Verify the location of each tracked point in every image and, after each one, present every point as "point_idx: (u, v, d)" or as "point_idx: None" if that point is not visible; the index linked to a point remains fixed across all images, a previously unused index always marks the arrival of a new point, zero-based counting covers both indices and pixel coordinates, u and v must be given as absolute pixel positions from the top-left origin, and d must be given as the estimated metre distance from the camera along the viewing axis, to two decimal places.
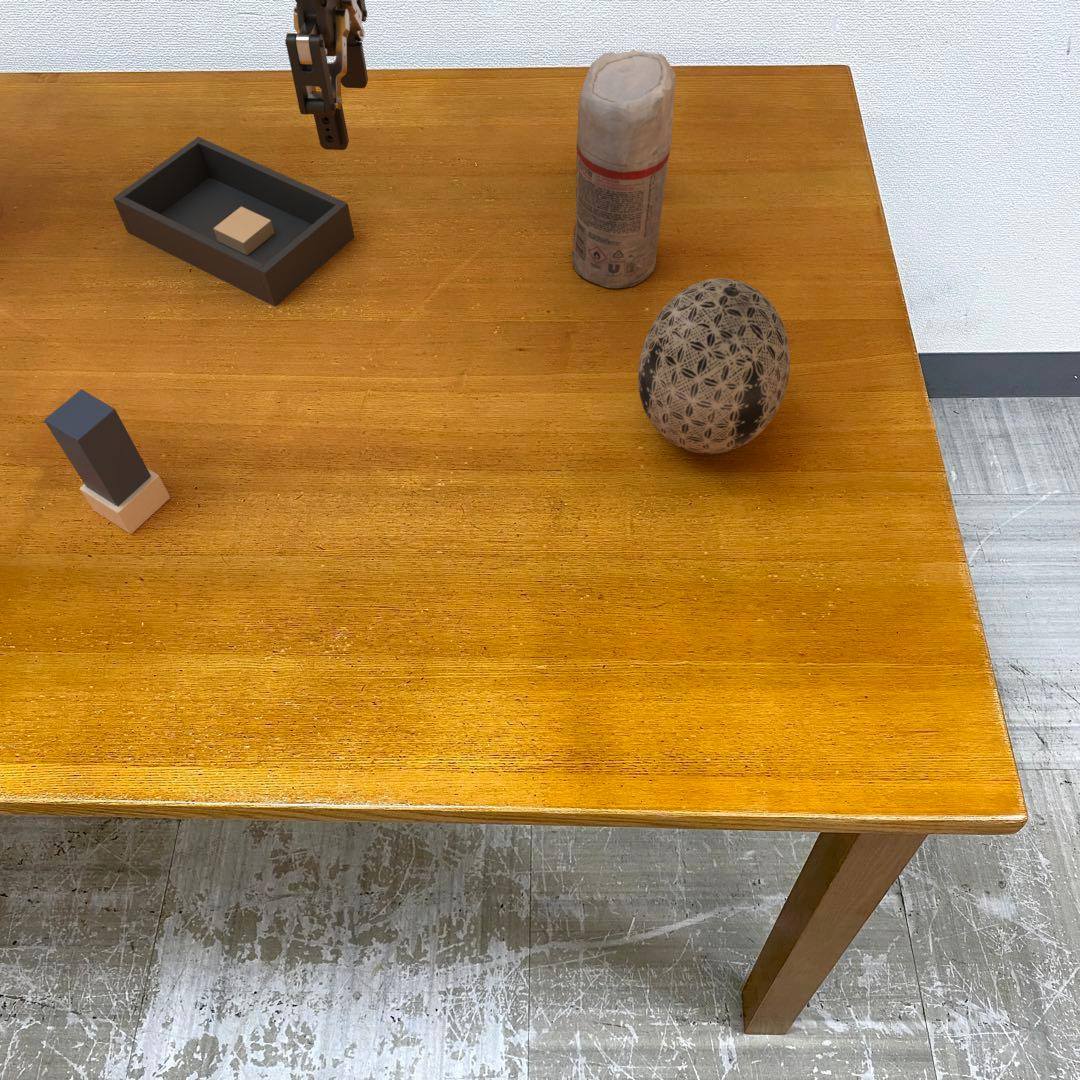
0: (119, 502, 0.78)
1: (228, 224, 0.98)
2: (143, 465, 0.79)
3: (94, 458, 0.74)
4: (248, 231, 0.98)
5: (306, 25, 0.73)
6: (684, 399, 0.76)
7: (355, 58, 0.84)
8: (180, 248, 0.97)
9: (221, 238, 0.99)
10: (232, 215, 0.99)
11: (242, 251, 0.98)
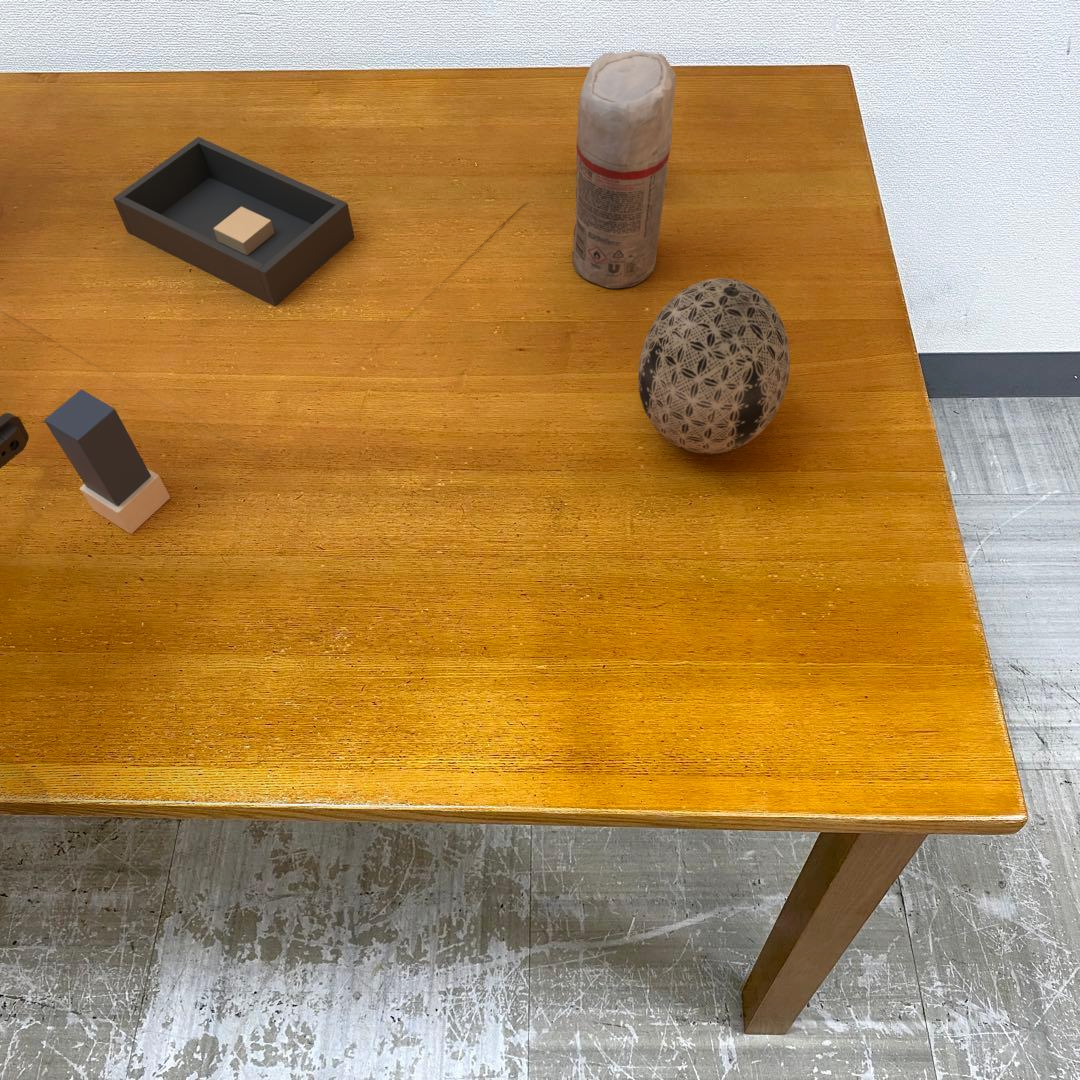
0: (119, 502, 0.78)
1: (228, 224, 0.98)
2: (143, 465, 0.79)
3: (94, 458, 0.74)
4: (248, 231, 0.98)
5: None
6: (684, 399, 0.76)
7: None
8: (180, 248, 0.97)
9: (221, 238, 0.99)
10: (232, 215, 0.99)
11: (242, 251, 0.98)
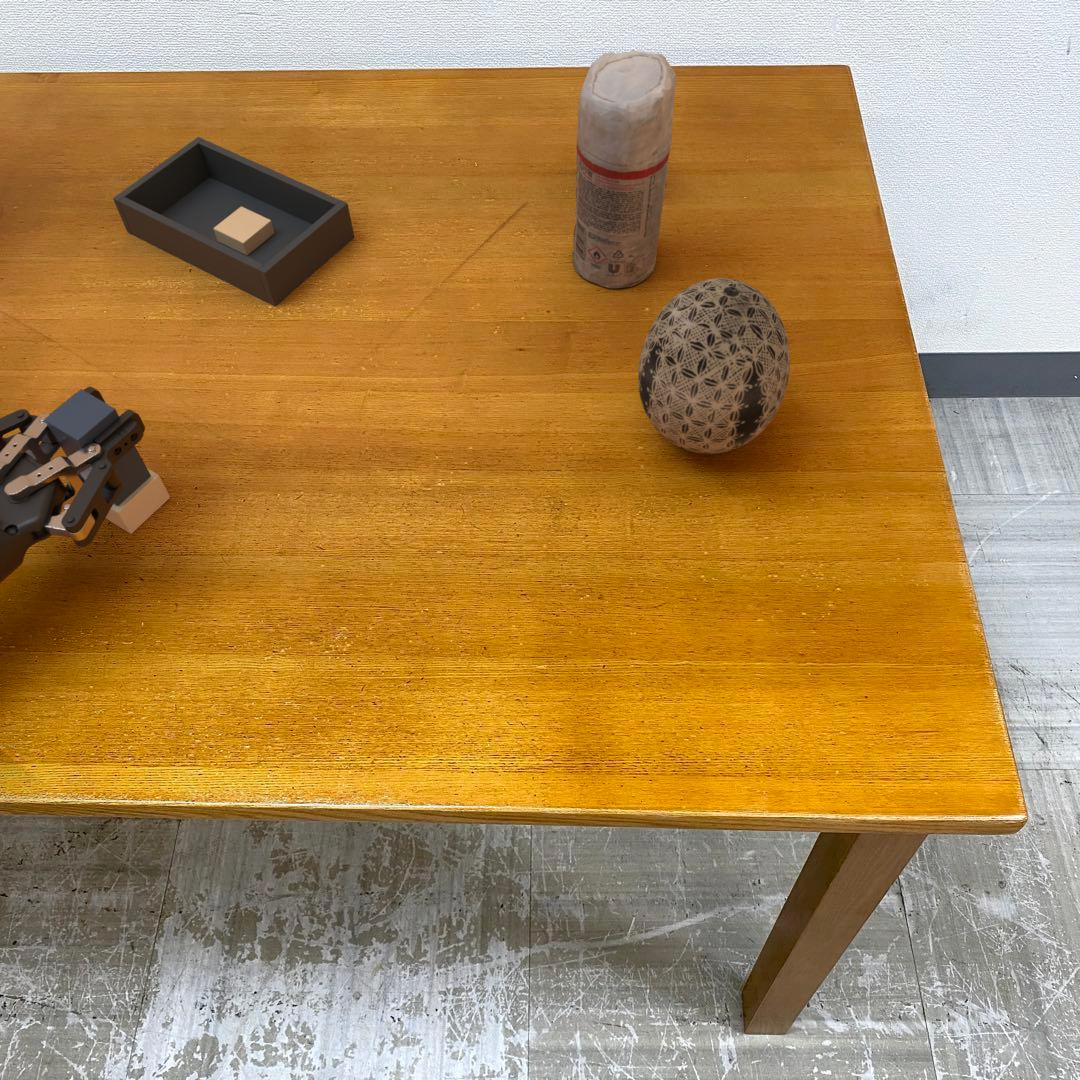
0: (119, 501, 0.78)
1: (228, 224, 0.98)
2: (143, 465, 0.79)
3: None
4: (248, 231, 0.98)
5: None
6: (684, 399, 0.76)
7: None
8: (180, 248, 0.97)
9: (221, 238, 0.99)
10: (232, 215, 0.99)
11: (242, 251, 0.98)
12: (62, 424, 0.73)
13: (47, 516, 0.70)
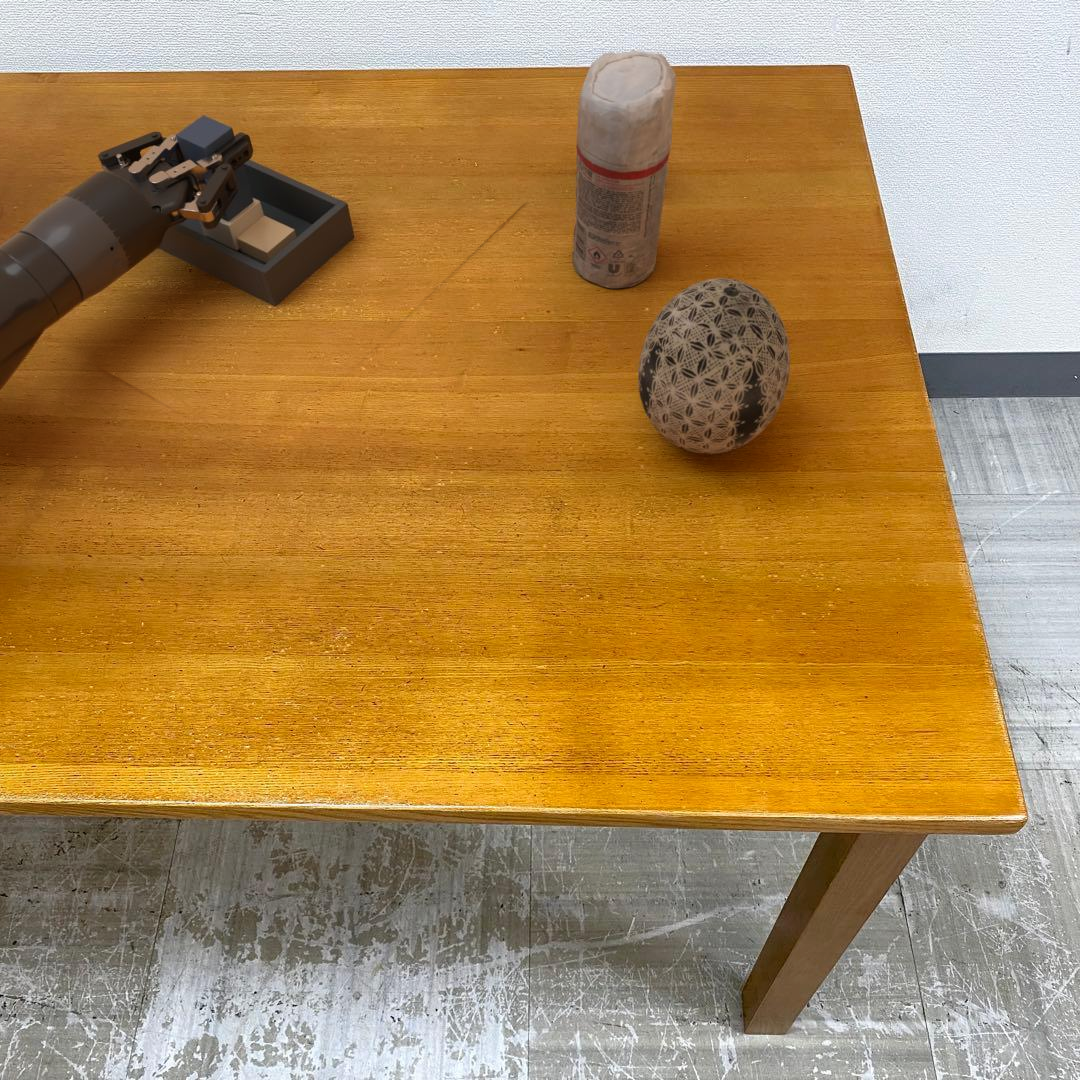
0: (229, 217, 0.96)
1: (251, 233, 0.98)
2: (249, 189, 0.96)
3: None
4: (271, 240, 0.97)
5: None
6: (684, 399, 0.76)
7: None
8: (180, 248, 0.97)
9: (244, 247, 0.98)
10: (255, 224, 0.98)
11: (265, 261, 0.97)
12: (190, 137, 0.90)
13: (183, 201, 0.87)
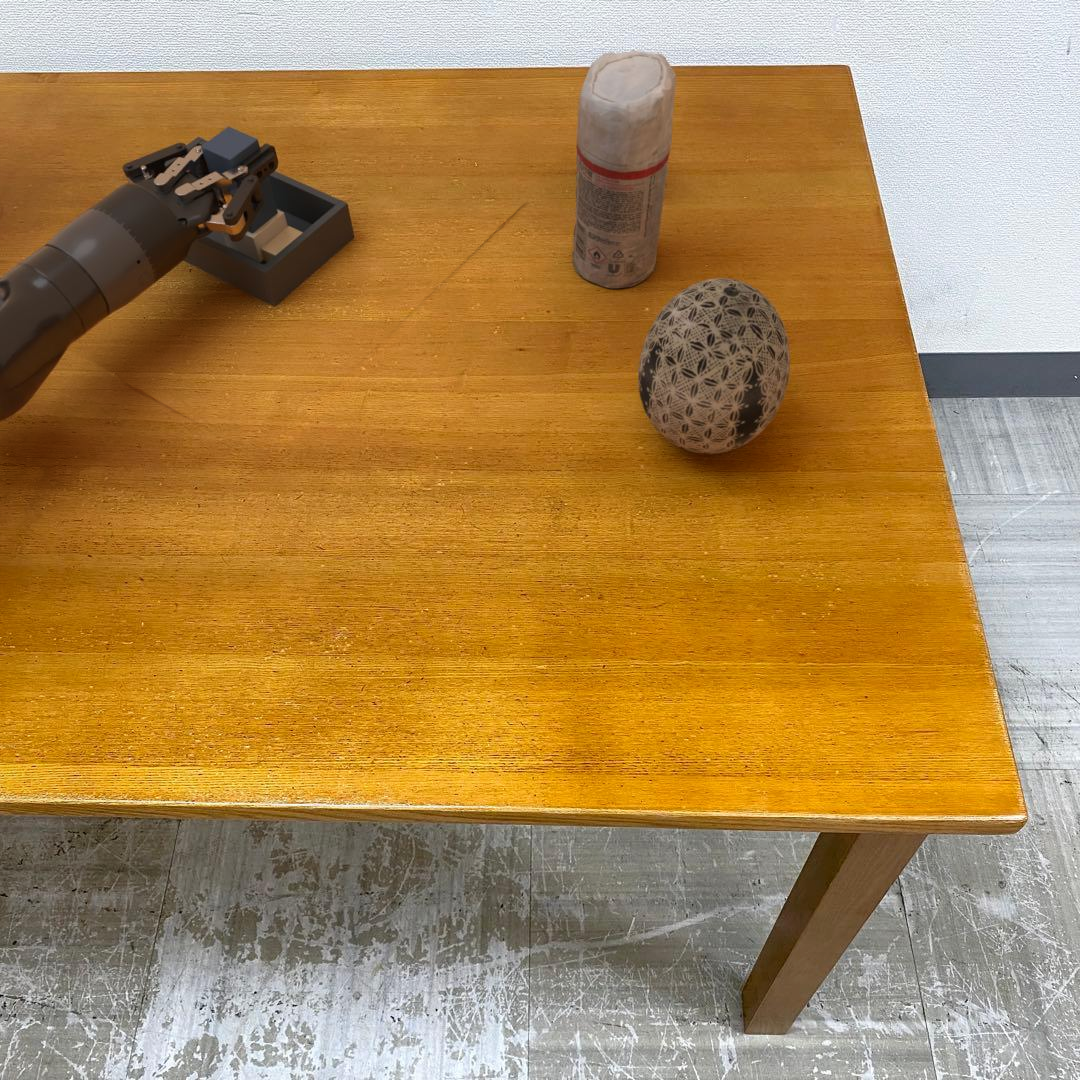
0: (253, 229, 0.95)
1: (276, 244, 0.97)
2: (273, 200, 0.96)
3: None
4: None
5: None
6: (684, 399, 0.76)
7: None
8: None
9: (268, 258, 0.97)
10: (280, 235, 0.97)
11: None
12: (216, 149, 0.89)
13: (209, 214, 0.87)
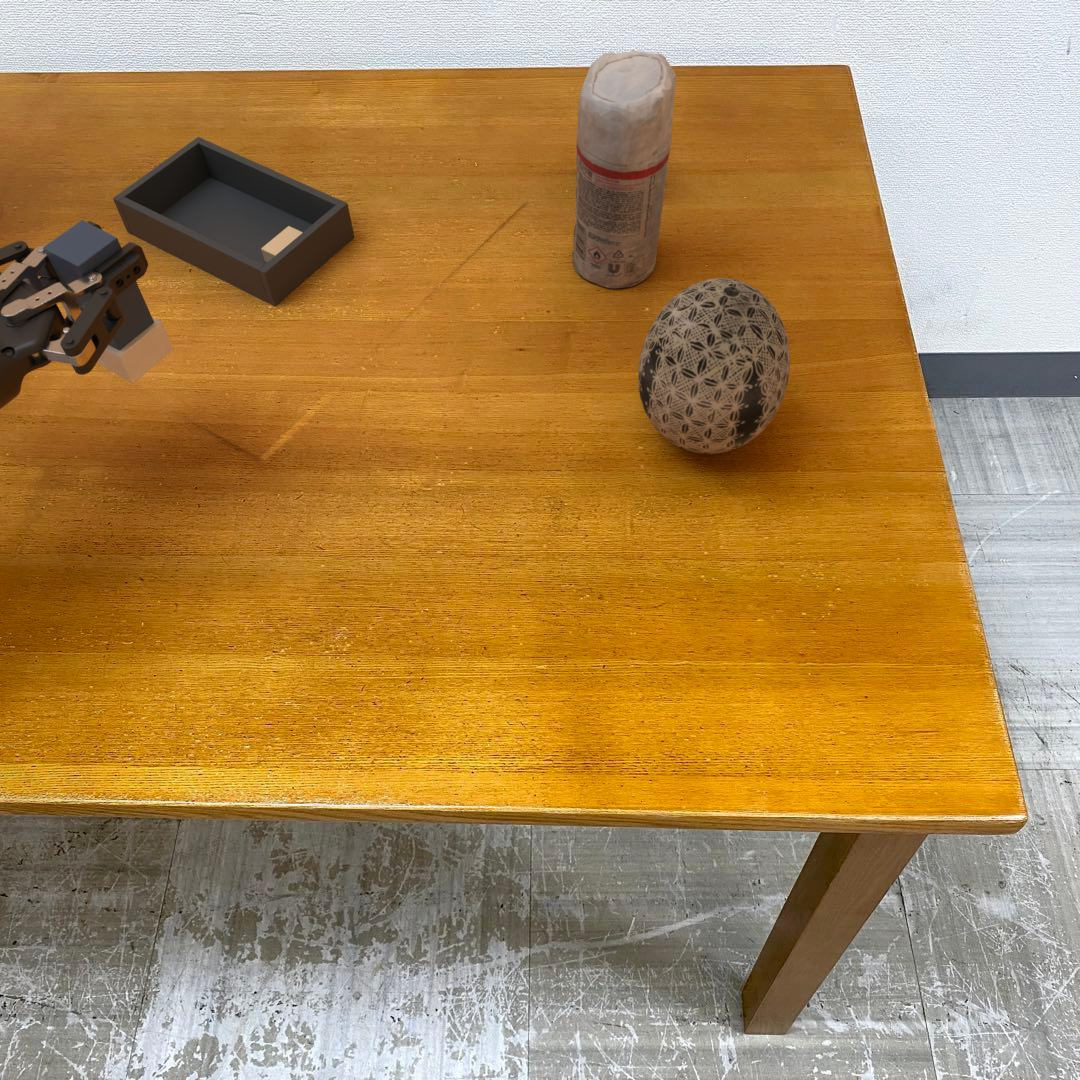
0: (120, 345, 0.75)
1: (276, 244, 0.97)
2: (146, 308, 0.76)
3: None
4: None
5: None
6: (684, 399, 0.76)
7: None
8: (180, 248, 0.97)
9: (268, 258, 0.97)
10: (280, 235, 0.97)
11: None
12: (62, 251, 0.70)
13: (45, 340, 0.67)
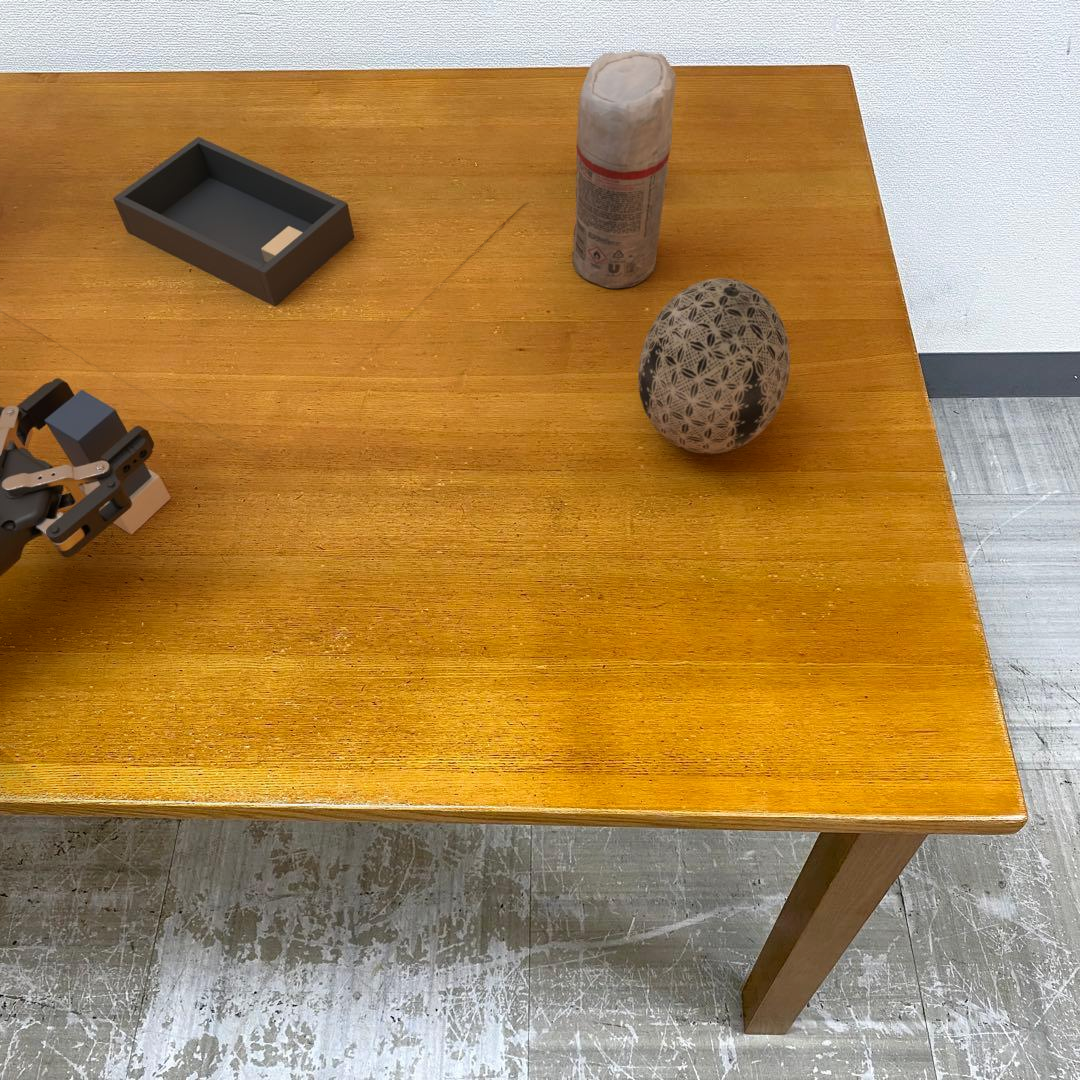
0: None
1: (276, 244, 0.97)
2: (143, 466, 0.79)
3: (94, 458, 0.74)
4: None
5: None
6: (684, 399, 0.76)
7: None
8: (180, 248, 0.97)
9: (268, 258, 0.97)
10: (280, 235, 0.97)
11: None
12: (62, 425, 0.73)
13: (41, 517, 0.69)
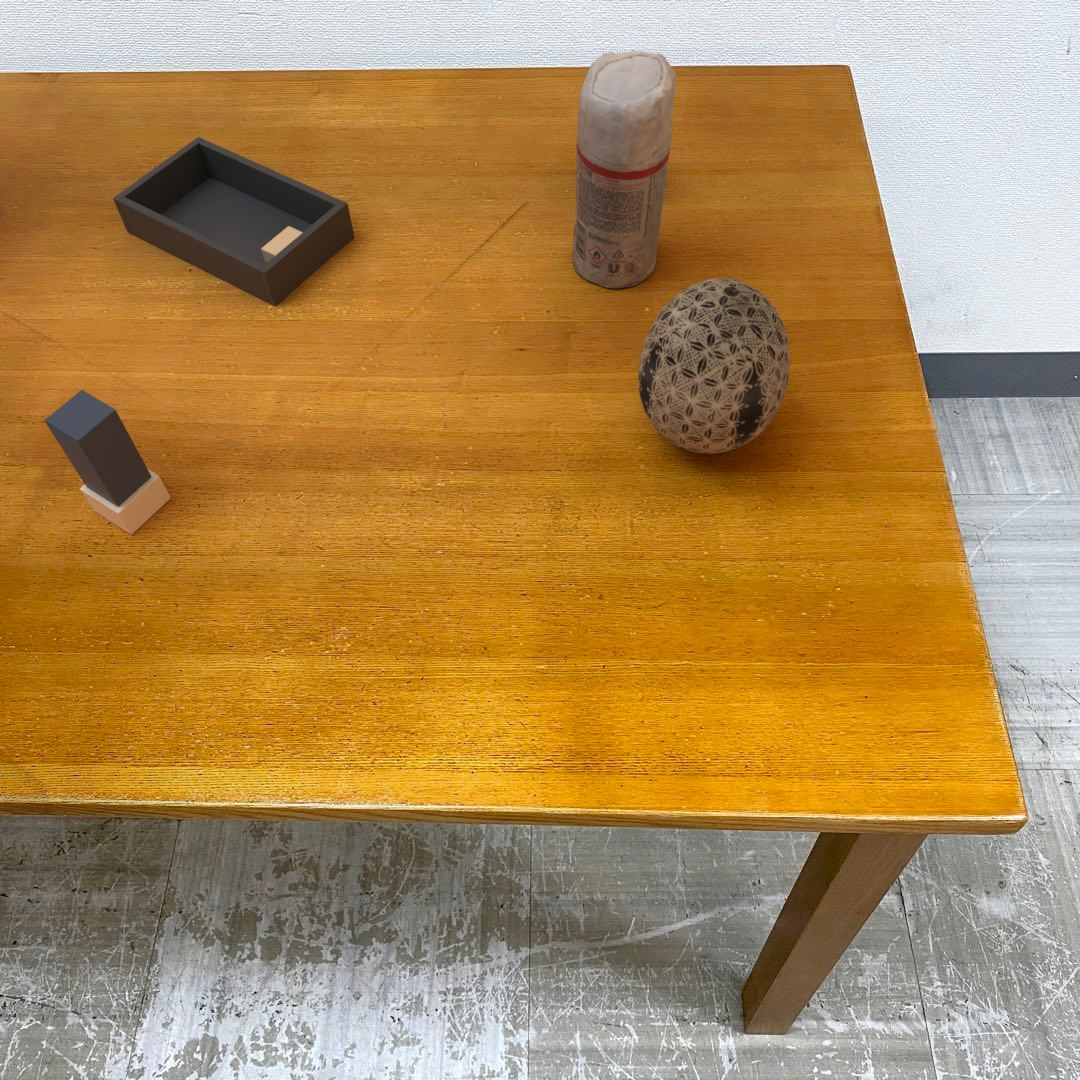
0: (119, 502, 0.78)
1: (276, 244, 0.97)
2: (143, 466, 0.79)
3: (94, 458, 0.74)
4: None
5: None
6: (684, 399, 0.76)
7: None
8: (180, 248, 0.97)
9: (268, 258, 0.97)
10: (280, 235, 0.97)
11: None
12: (62, 425, 0.73)
13: None
